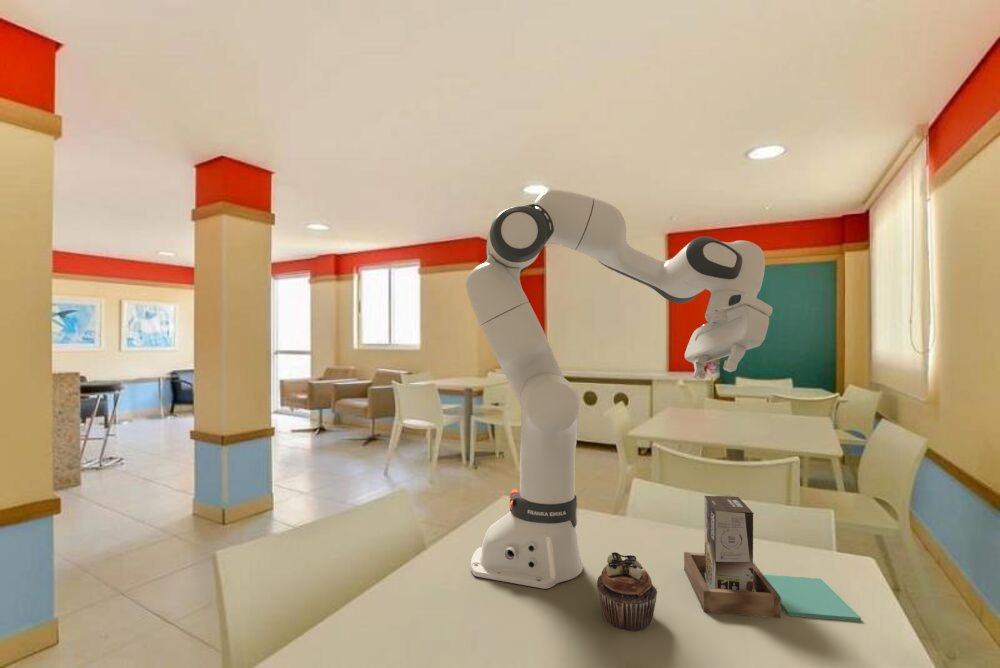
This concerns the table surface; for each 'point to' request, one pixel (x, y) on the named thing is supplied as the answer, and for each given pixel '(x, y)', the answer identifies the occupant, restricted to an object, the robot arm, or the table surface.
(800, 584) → the teal mat
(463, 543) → the table surface
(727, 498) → the coffee box
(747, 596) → the walnut bin
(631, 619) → the cupcake
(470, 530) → the table surface
